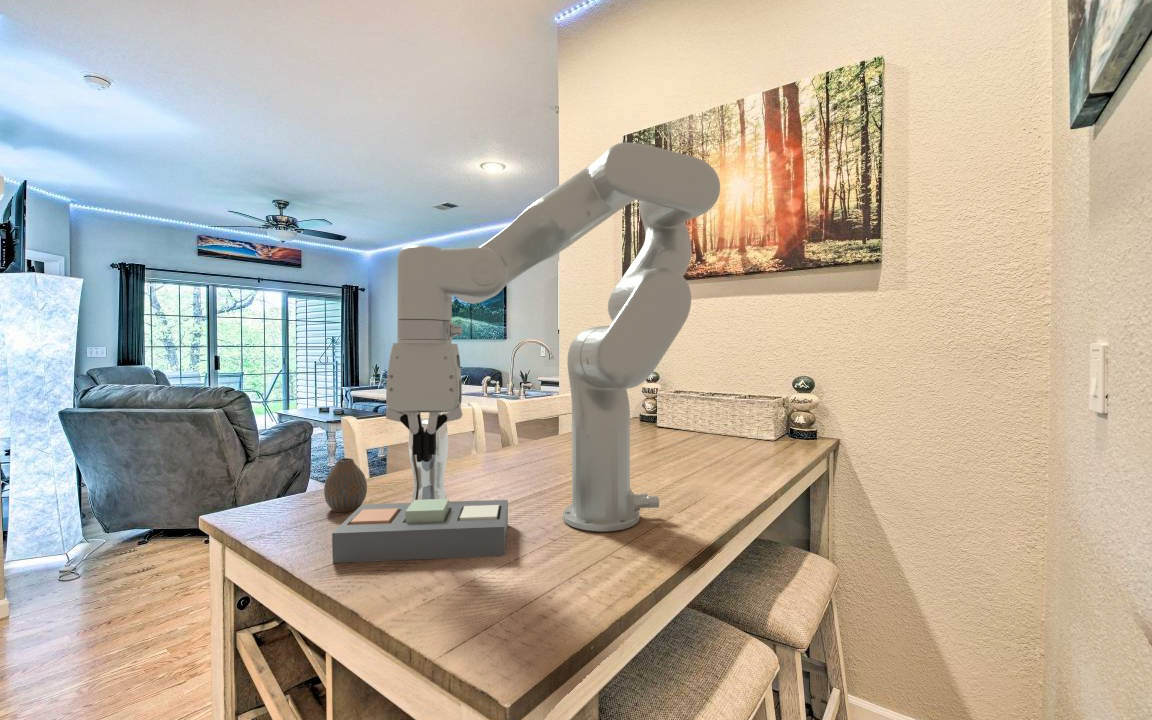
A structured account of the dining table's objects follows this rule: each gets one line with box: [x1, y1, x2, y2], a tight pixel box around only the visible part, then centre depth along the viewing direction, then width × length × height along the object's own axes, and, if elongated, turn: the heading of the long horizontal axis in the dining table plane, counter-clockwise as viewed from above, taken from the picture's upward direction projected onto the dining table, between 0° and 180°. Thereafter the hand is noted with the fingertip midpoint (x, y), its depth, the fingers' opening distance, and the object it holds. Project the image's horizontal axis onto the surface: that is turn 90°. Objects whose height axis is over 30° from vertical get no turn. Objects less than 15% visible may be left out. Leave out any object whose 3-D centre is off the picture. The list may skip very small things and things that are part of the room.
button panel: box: [331, 499, 509, 564], centre depth 74 cm, size 23×12×4 cm, turn 95°
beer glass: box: [408, 417, 449, 503], centre depth 93 cm, size 7×7×15 cm
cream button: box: [460, 505, 499, 521], centre depth 75 cm, size 5×5×4 cm
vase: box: [323, 457, 368, 513], centre depth 90 cm, size 7×7×9 cm
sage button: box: [405, 498, 450, 523], centre depth 74 cm, size 5×5×4 cm
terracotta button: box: [350, 508, 398, 525], centre depth 74 cm, size 5×5×4 cm
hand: (424, 459), depth 74 cm, fingers closed
